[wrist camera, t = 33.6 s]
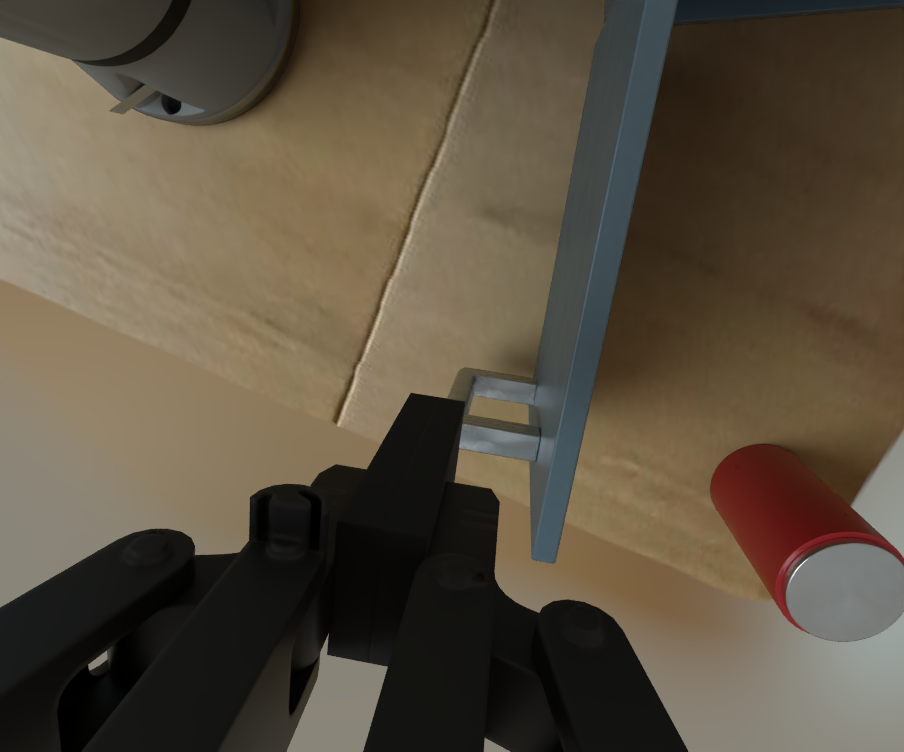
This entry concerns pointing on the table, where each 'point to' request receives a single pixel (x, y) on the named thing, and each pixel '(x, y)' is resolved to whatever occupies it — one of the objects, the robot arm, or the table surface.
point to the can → (809, 545)
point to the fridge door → (579, 271)
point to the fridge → (764, 9)
